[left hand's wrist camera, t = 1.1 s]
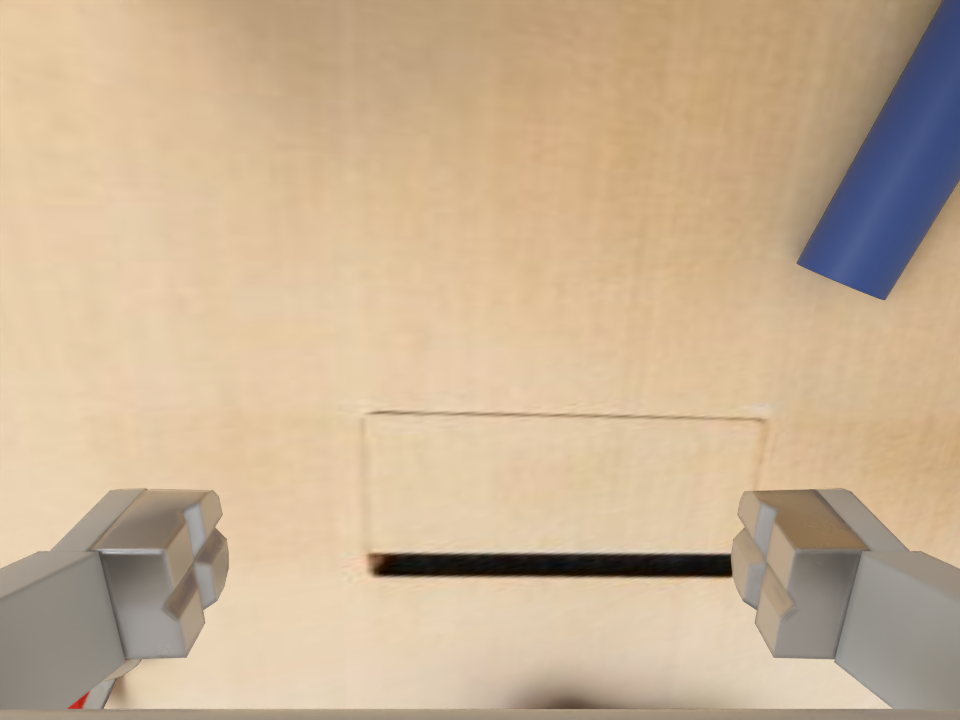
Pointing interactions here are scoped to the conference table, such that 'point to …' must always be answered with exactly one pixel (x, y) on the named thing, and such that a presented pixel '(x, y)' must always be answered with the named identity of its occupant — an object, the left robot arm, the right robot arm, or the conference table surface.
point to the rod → (897, 170)
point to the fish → (103, 688)
